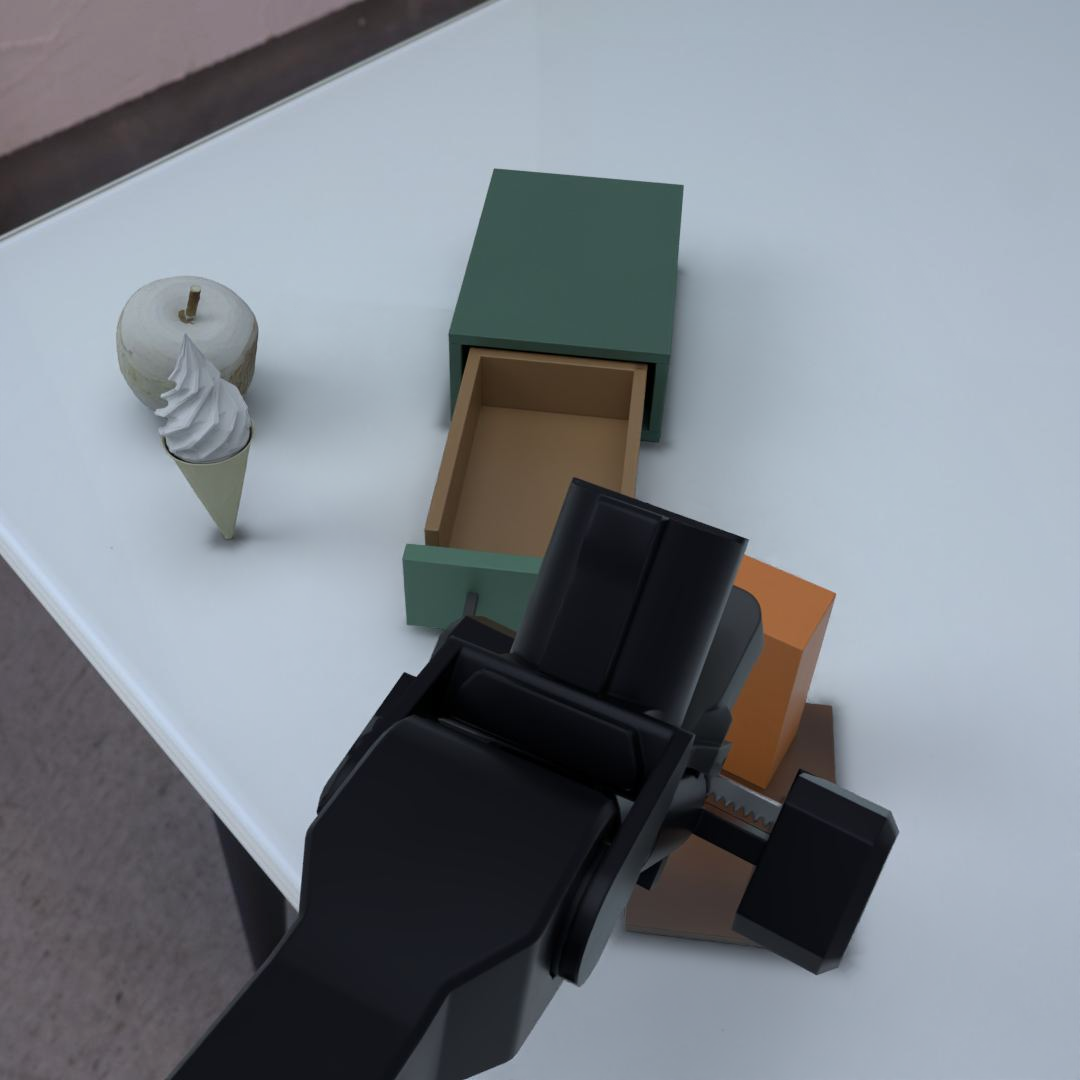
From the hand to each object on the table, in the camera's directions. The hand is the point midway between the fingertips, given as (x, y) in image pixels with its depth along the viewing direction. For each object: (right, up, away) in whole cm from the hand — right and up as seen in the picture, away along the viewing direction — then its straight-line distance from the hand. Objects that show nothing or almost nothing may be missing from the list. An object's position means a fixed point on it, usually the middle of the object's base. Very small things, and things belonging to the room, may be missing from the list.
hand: (688, 762), depth 58 cm
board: (+3, -4, +7) cm, 9 cm away
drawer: (-7, +10, +19) cm, 22 cm away
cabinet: (-4, +24, +34) cm, 42 cm away
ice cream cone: (-25, +10, +20) cm, 33 cm away
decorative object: (-29, +18, +28) cm, 44 cm away
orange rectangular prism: (+4, 0, +10) cm, 10 cm away
